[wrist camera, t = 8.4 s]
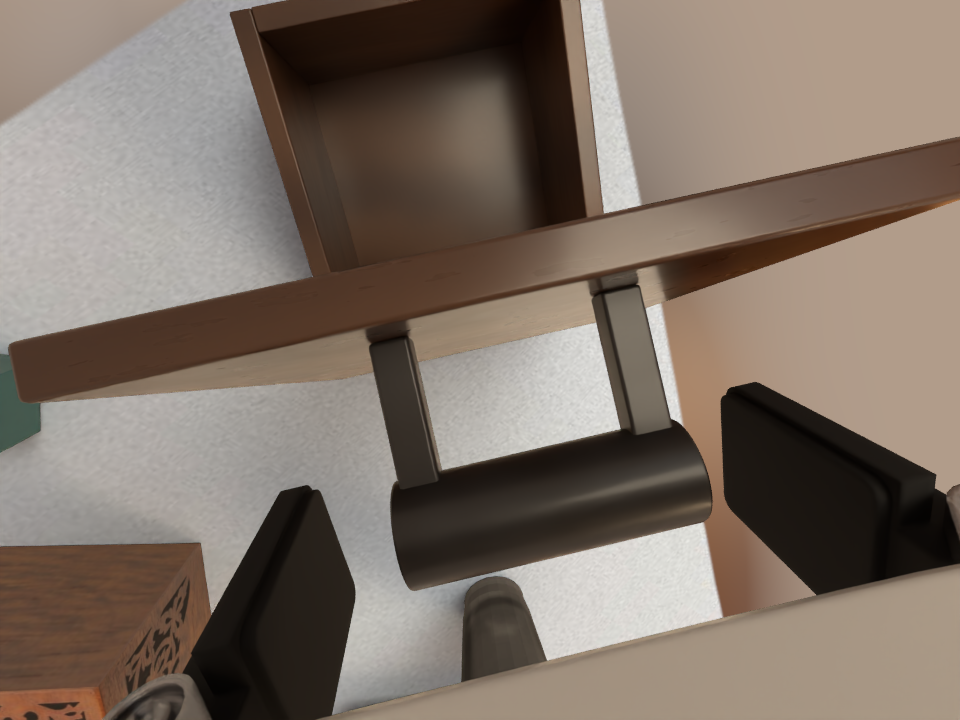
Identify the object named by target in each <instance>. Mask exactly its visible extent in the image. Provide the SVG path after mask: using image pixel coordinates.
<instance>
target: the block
mask: <svg viewBox="0 0 960 720" xmlns="http://www.w3.org/2000/svg"><path fill="white" fill-rule="evenodd" d="M39 431H40V403H32V404H30V403H24V402H21V401H20V400H19V398H18V395H17V390H16V385H15V380H14V375H13V371H12V366H11V361H10V356H9V355H3V354H0V453H1V452H3V451H5V450H6V449H8V448H10V447H12V446H14V445H16V444H17V443H19V442H21V441H23V440H25V439H26V438H28V437H30V436H32V435H34V434H36V433H37V432H39Z"/></svg>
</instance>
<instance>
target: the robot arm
mask: <svg viewBox="0 0 960 720" xmlns="http://www.w3.org/2000/svg"><path fill="white" fill-rule="evenodd" d="M721 426H722V452H723V479H724V496H725V500H726V502H727V505H728V506H729V508H730V509H731V510H732V512H733V513H734V514H735V515H736V516H737V517H738V518H739V519H741V521H743V522H744V523H745V524H746V525H747V526H748V527H749V528H750V529H751V530H752V531H753V532H754V533H755V534H756V535H757V536H758V537H759V538H760V539H761V540H762V541H763V542H764V543H765V544H766V545H767V546H768V547H769V548H770V549H771V550H772V551H773V552H774V553H775V554H776V555H777V556H778V557H779V558H780V559H781V560H782V561H783V562H784V563H785V564H786V565H787V566H788V567H789V568H790V569H791V570H792V571H793V572H794V573H795V574H796V575H797V576H798V577H799V578H800V579H801V580H802V581H803V582H804V583H805V584H806V585H807V586H808V587H809V588H810V589H811V590H812V591H813V592H814V593H815V594H816V596H812V597H808V598H804V599H800V600H796V601H791V602H787V603H783V604H779V605H774V606H770V607H766V608H762V609H758V610H753V611H749V612H745V613H741V614H737V615H733V616H729V617H724V618H720V619H716V620H712V621H707V622H703V623H699V624H695V625H691V626H687V627H683V628H679V629H675V630H671V631H666V632H662V633H658V634H654V635H650V636H646V637H642V638H638V639H634V640H630V641H626V642H621V643H617V644H613V645H609V646H605V647H601V648H597V649H593V650H589V651H585V652H581V653H577V654H573V655H569V656H565V657H561V658H557V659H553V660H549V661H544V662H540V663H536V664H532V665H528V666H524V667H520V668H516V669H513V670H509V671H505V672H501V673H497V674H493V675H489V676H485V677H481V678H477V679H473V680H469V681H465V682H461V683H457V684H453V685H449V686H445V687H441V688H437V689H433V690H429V691H425V692H421V693H417V694H413V695H409V696H405V697H402V698H398V699H394V700H390V701H386V702H382V703H378V704H374V705H370V706H367V707H363V708H359V709H355V710H351V711H347V712H343V713H340V714H336V715H332V712H333V707H334V702H335V697H336V692H337V687H338V682H339V677H340V672H341V667H342V662H343V658H344V653H345V648H346V643H347V638H348V633H349V628H350V623H351V618H352V613H353V608H354V603H355V585H354V581H353V579H352V576H351V573H350V570H349V568H348V565H347V562H346V560H345V557H344V554H343V551H342V549H341V546H340V543H339V541H338V538H337V535H336V532H335V530H334V527H333V524H332V522H331V519H330V516H329V513H328V511H327V508H326V505H325V503H324V500H323V497H322V495H321V492H320V491H319V490H312V489H311V487H310V486H308V485H305V486H301V487H297V488H292V489H288V490H284V491H281V492H280V493H279V495H278V496H277V498H276V500H275V502H274V504H273V505H272V507H271V509H270V511H269V513H268V514H267V516H266V518H265V520H264V522H263V523H262V525H261V527H260V529H259V531H258V532H257V534H256V536H255V538H254V540H253V541H252V543H251V545H250V547H249V549H248V550H247V552H246V554H245V556H244V558H243V560H242V561H241V563H240V565H239V567H238V569H237V570H236V572H235V574H234V576H233V578H232V579H231V581H230V583H229V585H228V587H227V588H226V590H225V592H224V594H223V596H222V597H221V599H220V601H219V603H218V605H217V606H216V608H215V610H214V612H213V614H212V615H211V617H210V619H209V621H208V623H207V624H206V626H205V628H204V630H203V632H202V633H201V635H200V637H199V639H198V641H197V642H196V644H195V646H194V648H193V650H192V652H191V655H192V656H191V658H190V660H189V661H188V663H187V665H186V667H185V669H184V670H183V672H182V674H181V673H174V674H168V675H164V676H161V677H159V678H156V679H154V680H151V681H149V682H147V683H146V684H144V685H142V686H141V687H139V688H137V689H136V690H134V691H133V692H131V693H130V694H129V695H127V696H126V697H125V698H124V699H122V700H121V701H120V702H119V703H117V704H116V705H115V706H114V707H113V708H112V709H111V710H110V711H109V712H108V713H107V714H106V715H105V716H104V717H103V718H102V720H960V484H959V485H956V486H953V487H952V488H951V489H950V490H949V491H948V492H947V495H946V494H944V493H942V492H940V491H939V490H937V489H935V481H936V474H934V473H932V472H930V471H928V470H926V469H925V468H923V467H921V466H918V465H917V464H915V463H913V462H911V461H909V460H907V459H905V458H903V457H901V456H899V455H897V454H895V453H894V452H892V451H890V450H888V449H886V448H884V447H882V446H880V445H878V444H876V443H874V442H872V441H870V440H868V439H866V438H865V437H863V436H861V435H859V434H857V433H855V432H853V431H851V430H849V429H847V428H845V427H843V426H841V425H839V424H837V423H835V422H833V421H832V420H830V419H828V418H826V417H824V416H822V415H820V414H818V413H816V412H814V411H812V410H810V409H808V408H806V407H805V406H803V405H800V404H799V403H797V402H795V401H793V400H791V399H789V398H787V397H785V396H783V395H781V394H779V393H777V392H775V391H773V390H771V389H770V388H768V387H766V386H764V385H762V384H760V383H757V382H753V383H748V384H744V385H740V386H735V387H731V388H729V389H728V391H727V393H726V395H724V396H723V397H722V398H721Z"/></svg>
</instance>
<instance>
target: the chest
mask: <svg viewBox="0 0 960 720" xmlns="http://www.w3.org/2000/svg"><path fill="white" fill-rule="evenodd" d="M230 17H231V20H232V23H233V26H234V30H235V33H236V36H237V39H238V42H239V45H240V48H241V52H242V55H243V58H244V61H245V64H246V67H247V71H248V74H249V77H250V80H251V83H252V86H253V89H254V93H255V96H256V99H257V102H258V105H259V108H260V111H261V115H262V118H263V121H264V124H265V127H266V130H267V133H268V137H269V140H270V143H271V146H272V149H273V152H274V155H275V159H276V162H277V165H278V168H279V171H280V174H281V177H282V181H283V184H284V187H285V190H286V193H287V196H288V199H289V203H290V206H291V209H292V212H293V215H294V218H295V222H296V225H297V228H298V231H299V234H300V237H301V240H302V244H303V247H304V250H305V253H306V256H307V259H308V262H309V266H310V269H311V272H312V275H313V277H314V276H319V275H323V274H328V273H333V272H337V271H342V270H346V269H351V268H356V267H360V266H365V265H369V264H374V263H379V262H383V261H388V260H393V259H397V258H402V257H406V256H411V255H416V254H420V253H425V252H429V251H434V250H439V249H443V248H448V247H452V246H457V245H462V244H466V243H471V242H476V241H480V240H485V239H489V238H494V237H499V236H503V235H508V234H512V233H517V232H522V231H526V230H531V229H536V228H540V227H545V226H549V225H554V224H559V223H563V222H568V221H572V220H577V219H582V218H586V217H591V216H596V215H600V214H604V212H603V203H602V194H601V185H600V176H599V167H598V158H597V149H596V140H595V131H594V122H593V113H592V104H591V95H590V86H589V77H588V68H587V59H586V50H585V41H584V32H583V23H582V14H581V5H580V0H286V1H281V2H276V3H271V4H266V5H261V6H256V7H252V10H251V9H249V8H248V9H243V10H238V11H233V12H230Z"/></svg>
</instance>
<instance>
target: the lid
mask: <svg viewBox="0 0 960 720" xmlns="http://www.w3.org/2000/svg"><path fill="white" fill-rule="evenodd" d="M958 200H960V137H955V138H951V139H946V140H942V141H937V142H933V143H928V144H923V145H918V146H914V147H909V148H905V149H900V150H895V151H891V152H886V153H882V154H877V155H872V156H868V157H863V158H859V159H855V160H849V161H845V162H840V163H835V164H831V165H826V166H822V167H817V168H812V169H808V170H803V171H799V172H794V173H789V174H785V175H780V176H775V177H771V178H766V179H762V180H757V181H752V182H748V183H743V184H739V185H734V186H730V187H725V188H720V189H715V190H711V191H706V192H702V193H697V194H692V195H688V196H683V197H679V198H674V199H669V200H665V201H661V202H656V203H651V204H646V205H642V206H637V207H632V208H628V209H623V210H619V211H614V212H609V213H605V214H600V215H596V216H591V217H586V218H582V219H577V220H572V221H568V222H563V223H559V224H554V225H549V226H545V227H540V228H536V229H531V230H526V231H522V232H517V233H512V234H508V235H503V236H499V237H494V238H489V239H485V240H480V241H476V242H471V243H466V244H462V245H457V246H452V247H448V248H443V249H439V250H434V251H429V252H425V253H420V254H416V255H411V256H406V257H402V258H397V259H393V260H388V261H383V262H379V263H374V264H369V265H365V266H360V267H356V268H351V269H346V270H342V271H337V272H333V273H328V274H323V275H319V276H314V277H309V278H305V279H300V280H296V281H291V282H286V283H282V284H277V285H273V286H268V287H263V288H259V289H254V290H249V291H245V292H240V293H236V294H231V295H226V296H222V297H217V298H213V299H208V300H203V301H199V302H194V303H189V304H185V305H180V306H176V307H171V308H166V309H162V310H157V311H153V312H148V313H143V314H139V315H134V316H130V317H125V318H120V319H116V320H111V321H106V322H102V323H97V324H93V325H88V326H83V327H79V328H74V329H70V330H65V331H60V332H56V333H51V334H46V335H42V336H37V337H33V338H28V339H23V340H19V341H15V342H13V343H11V344H9V347H8V352H9V356H10V361H11V366H12V371H13V375H14V380H15V385H16V390H17V395H18V398H19V400H20V401H21V402H24V403H30V404H32V403H44V402H57V401H70V400H83V399H96V398H108V397H121V396H134V395H147V394H159V393H172V392H185V391H198V390H211V389H223V388H236V387H249V386H262V385H275V384H287V383H300V382H313V381H326V380H339V379H346V378H350V377H355V376H359V375H364V374H368V373H373V372H374V376H375V380H376V385H377V389H378V394H379V398H380V403H381V407H382V412H383V416H384V421H385V425H386V430H387V434H388V439H389V443H390V448H391V452H392V457H393V461H394V466H395V470H396V475H397V479H398V481H396V482H395V483H394V484H393V486H392V491H391V499H390V512H391V525H392V534H393V540H394V546H395V551H396V556H397V560H398V564H399V567H400V570H401V573H402V576H403V579H404V581H405V583H406V585H407V586H408V588H409V589H410V590H412V591H417V590H421V589H425V588H429V587H434V586H438V585H442V584H446V583H450V582H455V581H459V580H463V579H467V578H471V577H476V576H480V575H484V574H488V573H492V572H496V571H501V570H505V569H509V568H513V567H517V566H522V565H526V564H530V563H534V562H538V561H542V560H547V559H551V558H555V557H559V556H563V555H568V554H572V553H576V552H580V551H584V550H589V549H593V548H597V547H601V546H605V545H609V544H614V543H618V542H622V541H626V540H630V539H635V538H639V537H643V536H647V535H651V534H656V533H660V532H664V531H668V530H672V529H676V528H681V527H685V526H689V525H693V524H697V523H702V522H704V521H705V520H707V519H708V518H709V516H710V514H711V511H712V490H711V484H710V480H709V476H708V472H707V469H706V466H705V464H704V461H703V459H702V456H701V454H700V452H699V450H698V448H697V446H696V444H695V443H694V441H693V439H692V438H691V436H690V435H689V433H688V432H687V431H686V429H685V428H684V427H683V426H682V425H681V424H679V423H678V422H677V421H675V420H672V419H671V418H670V413H669V409H668V405H667V400H666V396H665V392H664V387H663V383H662V379H661V374H660V370H659V366H658V361H657V357H656V353H655V348H654V344H653V340H652V335H651V331H650V327H649V322H648V318H647V314H646V309H645V308H648V307H650V306H653V305H656V304H659V303H662V302H665V301H668V300H671V299H673V298H677V297H679V296H682V295H685V294H688V293H691V292H694V291H697V290H699V289H703V288H705V287H708V286H711V285H714V284H717V283H720V282H723V281H726V280H728V279H731V278H735V277H737V276H740V275H743V274H746V273H749V272H752V271H755V270H758V269H761V268H763V267H766V266H769V265H772V264H775V263H778V262H781V261H784V260H787V259H789V258H792V257H795V256H798V255H801V254H804V253H807V252H810V251H813V250H815V249H818V248H821V247H824V246H827V245H830V244H833V243H836V242H838V241H841V240H845V239H847V238H850V237H853V236H856V235H859V234H862V233H865V232H868V231H871V230H874V229H877V228H879V227H882V226H885V225H888V224H891V223H894V222H897V221H900V220H902V219H906V218H908V217H911V216H914V215H917V214H920V213H923V212H926V211H928V210H932V209H935V208H937V207H940V206H943V205H946V204H949V203H952V202H955V201H958ZM591 323H597V328H598V332H599V336H600V341H601V345H602V349H603V354H604V358H605V362H606V367H607V371H608V376H609V380H610V384H611V389H612V393H613V397H614V402H615V406H616V410H617V415H618V419H619V424H620V428H621V429H620V430H615V431H611V432H607V433H602V434H598V435H594V436H589V437H585V438H581V439H576V440H572V441H568V442H563V443H559V444H555V445H550V446H546V447H542V448H537V449H533V450H529V451H524V452H520V453H516V454H511V455H507V456H503V457H498V458H494V459H490V460H486V461H481V462H477V463H473V464H468V465H464V466H460V467H455V468H451V469H447V470H442V468H441V463H440V459H439V454H438V450H437V445H436V441H435V436H434V432H433V427H432V423H431V418H430V414H429V409H428V405H427V400H426V396H425V391H424V387H423V382H422V378H421V373H420V369H419V364H418V362H422V361H426V360H431V359H435V358H440V357H444V356H449V355H453V354H457V353H462V352H466V351H471V350H475V349H480V348H484V347H489V346H493V345H498V344H502V343H507V342H511V341H516V340H520V339H524V338H529V337H533V336H538V335H542V334H547V333H551V332H556V331H560V330H565V329H569V328H574V327H578V326H583V325H587V324H591Z"/></svg>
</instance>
